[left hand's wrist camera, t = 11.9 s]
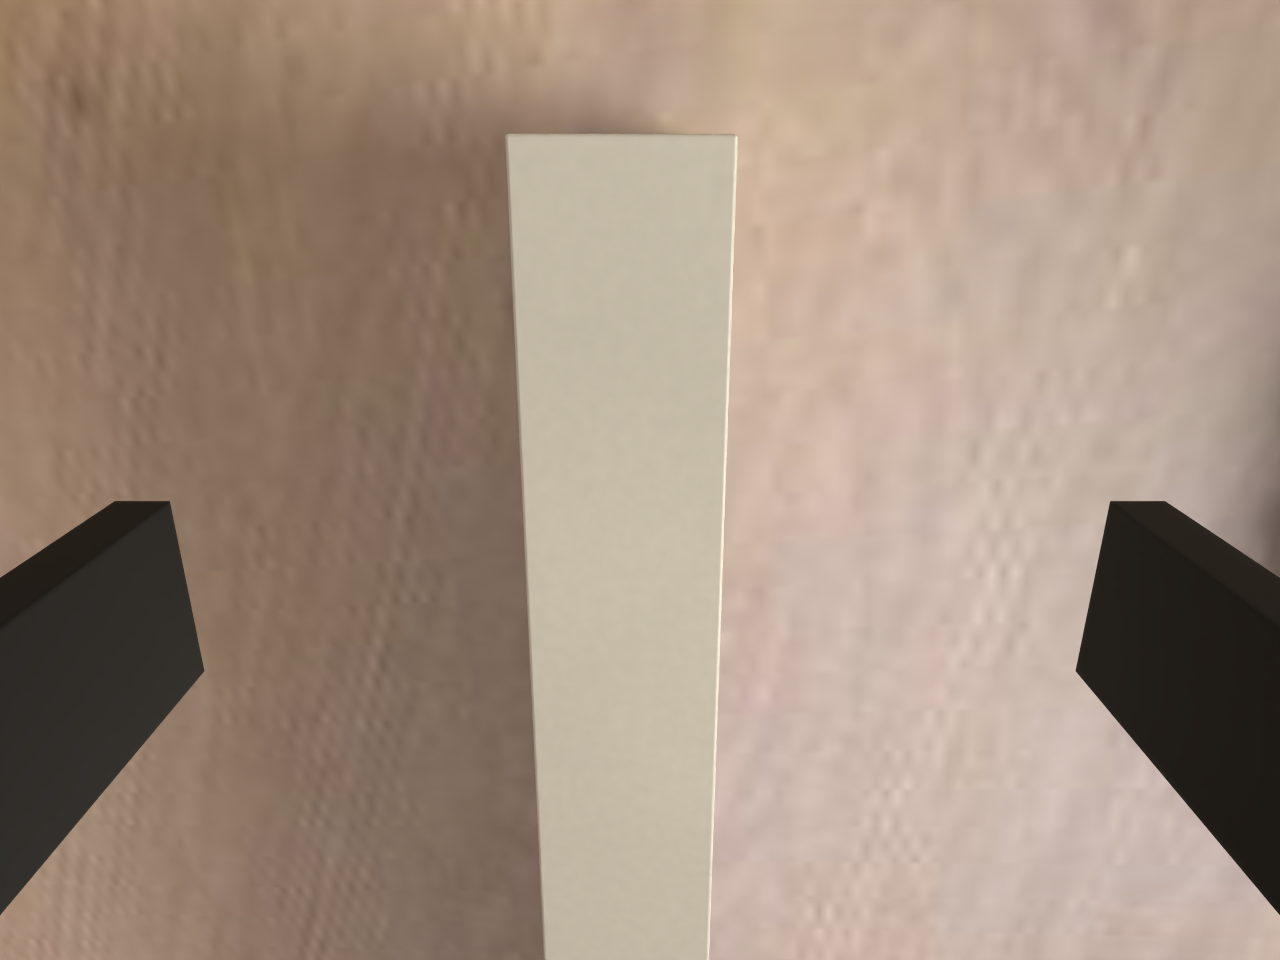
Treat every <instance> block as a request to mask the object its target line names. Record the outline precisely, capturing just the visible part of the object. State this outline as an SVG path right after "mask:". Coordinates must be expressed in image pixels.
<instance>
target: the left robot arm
mask: <svg viewBox="0 0 1280 960" xmlns="http://www.w3.org/2000/svg"><path fill="white" fill-rule="evenodd" d="M203 672H204V667H203V662H202V657H201V652H200V647H199V643H198V638H197V633H196V628H195V623H194V618H193V613H192V608H191V603H190V598H189V594H188V589H187V584H186V579H185V574H184V569H183V564H182V559H181V554H180V549H179V544H178V540H177V535H176V530H175V525H174V520H173V515H172V510H171V505H170V501H115V502H113V503H112V504H110V505H109V506H107V507H106V508H104V509H103V510H101V511H100V512H98V513H97V514H95V515H94V516H92V517H91V518H89V519H88V520H86V521H85V522H83V523H82V524H80V525H79V526H77V527H76V528H74V529H73V530H71V531H70V532H68V533H67V534H65V535H64V536H62V537H61V538H59V539H58V540H56V541H55V542H53V543H52V544H50V545H49V546H47V547H46V548H44V549H43V550H41V551H40V552H38V553H37V554H35V555H34V556H32V557H31V558H29V559H28V560H26V561H25V562H23V563H22V564H20V565H19V566H17V567H16V568H14V569H13V570H11V571H10V572H8V573H7V574H5V575H4V576H2V577H1V578H0V915H1V913H2V912H3V911H4V910H5V909H6V907H7V906H8V905H9V904H10V903H11V902H12V900H13V899H14V898H15V897H16V896H17V894H18V893H19V892H20V891H21V890H22V888H23V887H24V886H25V885H26V884H27V882H28V881H29V880H30V879H31V878H32V876H33V875H34V874H35V873H36V872H37V870H38V869H39V868H40V867H41V866H42V864H43V863H44V862H45V861H46V860H47V858H48V857H49V856H50V855H51V854H52V852H53V851H54V850H55V849H56V848H57V847H58V845H59V844H60V843H61V842H62V841H63V839H64V838H65V837H66V836H67V835H68V833H69V832H70V831H71V830H72V829H73V827H74V826H75V825H76V824H77V823H78V821H79V820H80V819H81V818H82V817H83V815H84V814H85V813H86V812H87V811H88V809H89V808H90V807H91V806H92V805H93V803H94V802H95V801H96V800H97V799H98V798H99V796H100V795H101V794H102V793H103V792H104V790H105V789H106V788H107V787H108V786H109V784H110V783H111V782H112V781H113V780H114V778H115V777H116V776H117V775H118V774H119V772H120V771H121V770H122V769H123V768H124V766H125V765H126V764H127V763H128V762H129V760H130V759H131V758H132V757H133V756H134V754H135V753H136V752H137V751H138V750H139V748H140V747H141V746H142V745H143V744H144V743H145V741H146V740H147V739H148V738H149V737H150V735H151V734H152V733H153V732H154V731H155V729H156V728H157V727H158V726H159V725H160V723H161V722H162V721H163V720H164V719H165V717H166V716H167V715H168V714H169V713H170V711H171V710H172V709H173V708H174V707H175V705H176V704H177V703H178V702H179V701H180V699H181V698H182V697H183V696H184V695H185V694H186V692H187V691H188V690H189V689H190V688H191V686H192V685H193V684H194V683H195V682H196V680H197V679H198V678H199V677H200V676H201V674H202V673H203ZM1076 672H1077V673H1078V674H1079V676H1080V677H1081V678H1082V679H1083V680H1084V682H1085V683H1086V684H1087V685H1088V686H1089V688H1090V689H1091V690H1092V691H1093V692H1094V694H1095V695H1096V696H1097V697H1098V698H1099V699H1100V701H1101V702H1102V703H1103V704H1104V705H1105V707H1106V708H1107V709H1108V710H1109V711H1110V713H1111V714H1112V715H1113V716H1114V717H1115V719H1116V720H1117V721H1118V722H1119V723H1120V725H1121V726H1122V727H1123V728H1124V729H1125V731H1126V732H1127V733H1128V734H1129V735H1130V737H1131V738H1132V739H1133V740H1134V741H1135V743H1136V744H1137V745H1138V746H1139V747H1140V748H1141V750H1142V751H1143V752H1144V753H1145V754H1146V756H1147V757H1148V758H1149V759H1150V760H1151V762H1152V763H1153V764H1154V765H1155V766H1156V768H1157V769H1158V770H1159V771H1160V772H1161V774H1162V775H1163V776H1164V777H1165V778H1166V780H1167V781H1168V782H1169V783H1170V784H1171V786H1172V787H1173V788H1174V789H1175V790H1176V792H1177V793H1178V794H1179V795H1180V796H1181V798H1182V799H1183V800H1184V801H1185V802H1186V803H1187V805H1188V806H1189V807H1190V808H1191V809H1192V811H1193V812H1194V813H1195V814H1196V815H1197V817H1198V818H1199V819H1200V820H1201V821H1202V823H1203V824H1204V825H1205V826H1206V827H1207V829H1208V830H1209V831H1210V832H1211V833H1212V835H1213V836H1214V837H1215V838H1216V839H1217V841H1218V842H1219V843H1220V844H1221V845H1222V847H1223V848H1224V849H1225V850H1226V851H1227V852H1228V854H1229V855H1230V856H1231V857H1232V858H1233V860H1234V861H1235V862H1236V863H1237V864H1238V866H1239V867H1240V868H1241V869H1242V870H1243V872H1244V873H1245V874H1246V875H1247V876H1248V878H1249V879H1250V880H1251V881H1252V882H1253V884H1254V885H1255V886H1256V887H1257V888H1258V890H1259V891H1260V892H1261V893H1262V894H1263V896H1264V897H1265V898H1266V899H1267V900H1268V902H1269V903H1270V904H1271V905H1272V906H1273V907H1274V909H1275V910H1276V911H1277V912H1278V913H1279V915H1280V578H1279V577H1278V576H1276V575H1275V574H1273V573H1272V572H1270V571H1269V570H1267V569H1266V568H1264V567H1263V566H1261V565H1260V564H1258V563H1257V562H1255V561H1254V560H1252V559H1251V558H1249V557H1248V556H1246V555H1245V554H1243V553H1242V552H1240V551H1239V550H1237V549H1236V548H1234V547H1233V546H1231V545H1230V544H1228V543H1227V542H1225V541H1224V540H1222V539H1221V538H1219V537H1218V536H1216V535H1215V534H1213V533H1212V532H1210V531H1209V530H1207V529H1206V528H1204V527H1203V526H1201V525H1200V524H1198V523H1197V522H1195V521H1194V520H1192V519H1191V518H1189V517H1188V516H1186V515H1185V514H1183V513H1182V512H1180V511H1179V510H1177V509H1176V508H1174V507H1173V506H1171V505H1170V504H1168V503H1167V502H1165V501H1110V505H1109V510H1108V515H1107V520H1106V525H1105V530H1104V535H1103V540H1102V544H1101V549H1100V554H1099V559H1098V564H1097V569H1096V574H1095V579H1094V584H1093V589H1092V594H1091V598H1090V603H1089V608H1088V613H1087V618H1086V623H1085V628H1084V633H1083V638H1082V643H1081V648H1080V652H1079V657H1078V662H1077V667H1076Z"/></svg>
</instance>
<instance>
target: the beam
mask: <svg viewBox="0 0 1280 960" xmlns="http://www.w3.org/2000/svg"><path fill="white" fill-rule="evenodd" d="M737 145H738V138H737V135H735V134H507V135H506V136H505V151H506V172H507V193H508V214H509V235H510V257H511V278H512V299H513V320H514V341H515V362H516V383H517V405H518V426H519V447H520V468H521V489H522V510H523V531H524V553H525V574H526V595H527V616H528V637H529V658H530V679H531V701H532V722H533V743H534V764H535V785H536V806H537V827H538V849H539V870H540V891H541V912H542V933H543V954H544V960H709V937H710V909H711V881H712V853H713V824H714V796H715V768H716V739H717V711H718V683H719V654H720V626H721V598H722V570H723V541H724V513H725V485H726V456H727V428H728V400H729V371H730V343H731V315H732V286H733V258H734V230H735V202H736V173H737Z"/></svg>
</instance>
